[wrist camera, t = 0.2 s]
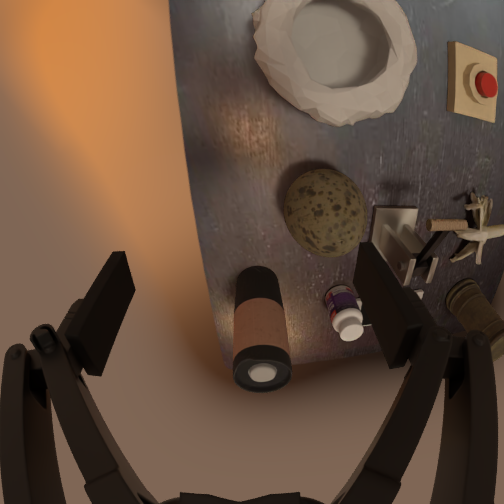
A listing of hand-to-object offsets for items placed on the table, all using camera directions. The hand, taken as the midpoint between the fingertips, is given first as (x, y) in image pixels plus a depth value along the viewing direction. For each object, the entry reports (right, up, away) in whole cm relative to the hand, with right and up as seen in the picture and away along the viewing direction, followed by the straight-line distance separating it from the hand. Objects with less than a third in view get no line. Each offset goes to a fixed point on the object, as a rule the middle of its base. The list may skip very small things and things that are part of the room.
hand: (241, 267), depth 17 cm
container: (+48, -9, +40) cm, 63 cm away
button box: (+36, +29, +17) cm, 49 cm away
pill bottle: (+17, -7, +39) cm, 43 cm away
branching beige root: (+42, +7, +31) cm, 53 cm away
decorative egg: (+10, +10, +28) cm, 32 cm away
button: (+36, +27, +14) cm, 47 cm away
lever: (+24, +2, +20) cm, 31 cm away
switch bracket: (+24, +4, +32) cm, 40 cm away
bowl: (+10, +28, +17) cm, 34 cm away
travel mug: (+1, -4, +37) cm, 37 cm away
